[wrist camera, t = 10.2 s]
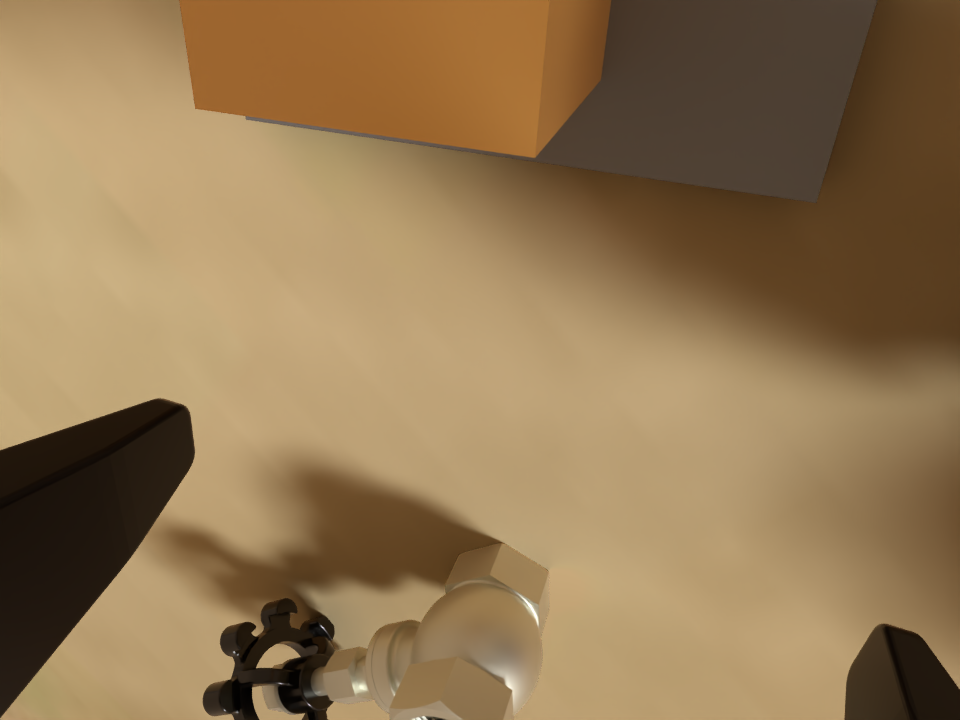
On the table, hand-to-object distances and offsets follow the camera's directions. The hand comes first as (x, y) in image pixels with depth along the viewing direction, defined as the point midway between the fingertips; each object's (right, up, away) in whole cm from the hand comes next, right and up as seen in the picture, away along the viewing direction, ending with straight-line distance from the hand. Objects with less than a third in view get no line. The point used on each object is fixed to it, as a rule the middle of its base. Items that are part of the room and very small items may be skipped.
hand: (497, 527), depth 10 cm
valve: (-2, -7, +20) cm, 21 cm away
